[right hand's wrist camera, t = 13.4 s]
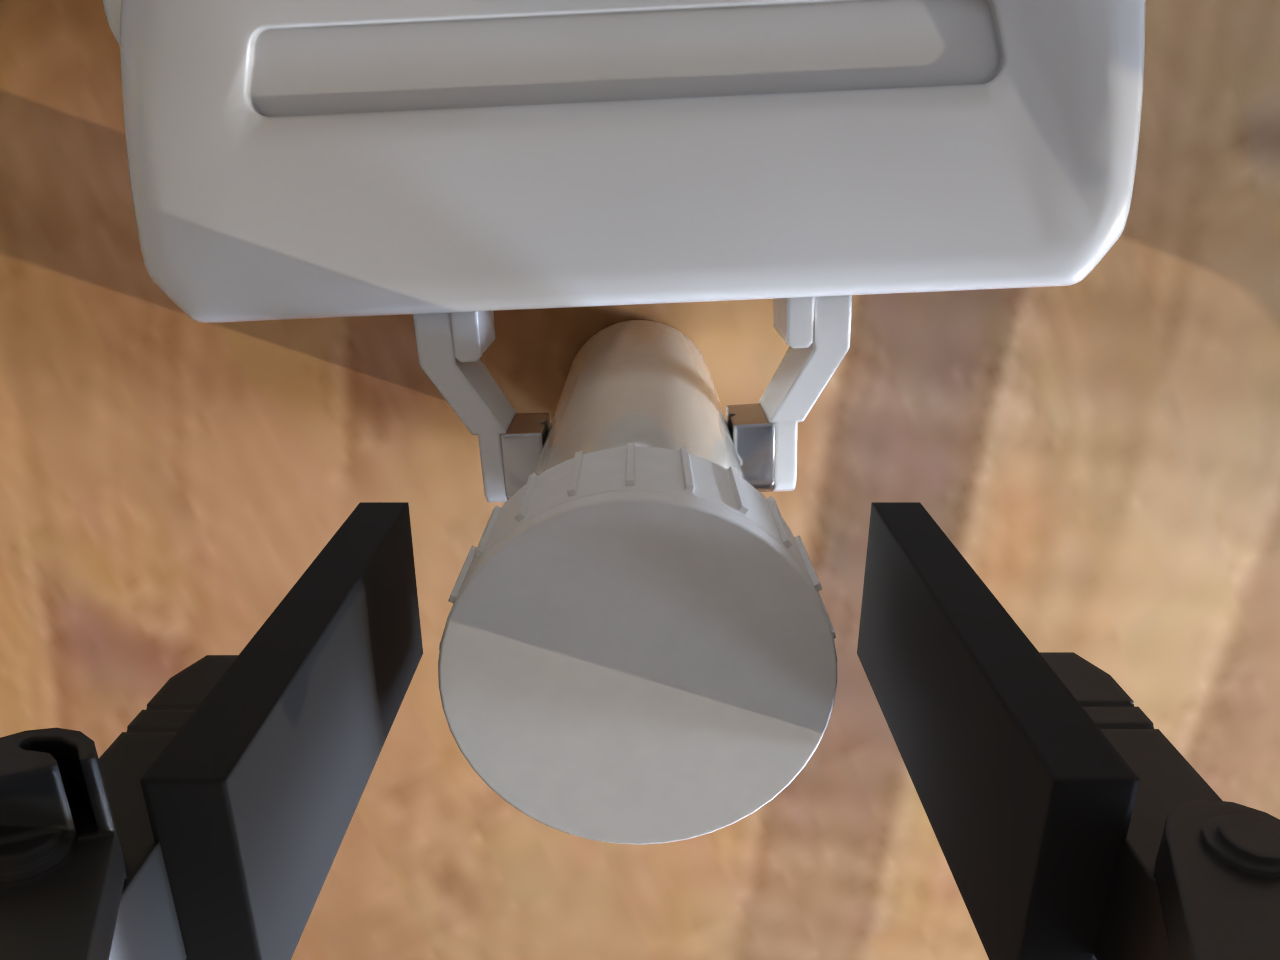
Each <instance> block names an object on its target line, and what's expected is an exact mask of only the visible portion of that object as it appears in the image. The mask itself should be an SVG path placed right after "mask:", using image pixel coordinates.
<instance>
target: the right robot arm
mask: <svg viewBox="0 0 1280 960" xmlns="http://www.w3.org/2000/svg"><path fill="white" fill-rule="evenodd" d="M422 654H423V648H422V638H421V628H420V618H419V608H418V597H417V587H416V577H415V567H414V557H413V546H412V536H411V526H410V516H409V506H408V503H359V505H358V506H357V507H356V508H355V510H354V511H353V512H352V513H351V515H350V516H349V517H348V518H347V520H346V521H345V522H344V524H343V525H342V526H341V527H340V529H339V530H338V531H337V532H336V534H335V535H334V536H333V537H332V539H331V540H330V541H329V542H328V544H327V545H326V546H325V547H324V549H323V550H322V551H321V552H320V554H319V555H318V556H317V558H316V559H315V560H314V561H313V563H312V564H311V565H310V566H309V568H308V569H307V570H306V571H305V573H304V574H303V575H302V576H301V578H300V579H299V580H298V581H297V583H296V584H295V585H294V586H293V588H292V589H291V590H290V591H289V593H288V594H287V595H286V597H285V598H284V599H283V600H282V602H281V603H280V604H279V605H278V607H277V608H276V609H275V610H274V612H273V613H272V614H271V615H270V617H269V618H268V619H267V620H266V622H265V623H264V624H263V625H262V627H261V628H260V629H259V631H258V632H257V633H256V634H255V636H254V637H253V638H252V639H251V641H250V642H249V643H248V644H247V646H246V647H245V648H244V649H243V651H242V652H241V653H240V654H239V655H207V656H205V657H204V658H202V659H200V660H199V661H197V662H196V663H194V664H192V665H191V666H189V667H188V668H186V669H184V670H183V671H181V672H180V673H178V674H176V675H175V676H173V677H172V678H170V679H169V680H168V682H167V683H166V684H165V685H164V686H163V687H162V688H161V689H160V691H159V692H158V693H157V694H156V695H155V696H154V697H153V698H152V700H151V701H150V702H149V703H148V704H147V709H146V710H142V711H141V712H140V713H139V714H138V715H137V716H136V718H135V719H134V720H133V721H132V722H131V723H130V724H129V725H128V727H127V728H128V729H127V732H122V733H121V734H120V736H119V737H118V738H117V739H116V740H115V741H114V742H113V743H112V745H111V746H110V747H109V748H108V749H107V750H106V751H105V752H104V754H103V755H102V756H101V757H100V758H99V759H98V756H97V752H96V748H95V744H94V741H93V740H91V739H90V738H88V737H87V736H86V735H84V734H83V733H82V732H80V731H74V730H68V729H61V728H49V729H39V730H29V731H23V732H20V733H16V734H13V735H9V736H5V737H2V738H0V960H291V958H292V955H293V953H294V951H295V948H296V946H297V944H298V942H299V939H300V937H301V935H302V932H303V930H304V928H305V925H306V923H307V921H308V918H309V916H310V914H311V911H312V909H313V907H314V904H315V902H316V900H317V897H318V895H319V893H320V891H321V888H322V886H323V884H324V881H325V879H326V877H327V874H328V872H329V870H330V867H331V865H332V863H333V860H334V858H335V856H336V853H337V851H338V849H339V847H340V844H341V842H342V840H343V837H344V835H345V833H346V830H347V828H348V826H349V823H350V821H351V819H352V816H353V814H354V812H355V809H356V807H357V805H358V802H359V800H360V798H361V796H362V793H363V791H364V789H365V786H366V784H367V782H368V779H369V777H370V775H371V772H372V770H373V768H374V765H375V763H376V761H377V758H378V756H379V754H380V752H381V749H382V747H383V745H384V742H385V740H386V738H387V735H388V733H389V731H390V728H391V726H392V724H393V721H394V719H395V717H396V714H397V712H398V710H399V707H400V705H401V703H402V701H403V698H404V696H405V694H406V691H407V689H408V687H409V684H410V682H411V680H412V677H413V675H414V673H415V670H416V668H417V666H418V663H419V661H420V659H421V657H422ZM857 654H858V657H859V659H860V661H861V663H862V666H863V668H864V670H865V673H866V675H867V677H868V680H869V682H870V684H871V687H872V689H873V691H874V694H875V696H876V698H877V701H878V703H879V705H880V707H881V710H882V712H883V714H884V717H885V719H886V721H887V724H888V726H889V728H890V731H891V733H892V735H893V738H894V740H895V742H896V745H897V747H898V749H899V752H900V754H901V756H902V758H903V761H904V763H905V765H906V768H907V770H908V772H909V775H910V777H911V779H912V782H913V784H914V786H915V789H916V791H917V793H918V796H919V798H920V800H921V802H922V805H923V807H924V809H925V812H926V814H927V816H928V819H929V821H930V823H931V826H932V828H933V830H934V833H935V835H936V837H937V840H938V842H939V844H940V847H941V849H942V851H943V853H944V856H945V858H946V860H947V863H948V865H949V867H950V870H951V872H952V874H953V877H954V879H955V881H956V884H957V886H958V888H959V891H960V893H961V895H962V897H963V900H964V902H965V904H966V907H967V909H968V911H969V914H970V916H971V918H972V921H973V923H974V925H975V928H976V930H977V932H978V935H979V937H980V939H981V942H982V944H983V946H984V948H985V951H986V953H987V955H988V958H989V960H1280V820H1279V819H1277V818H1275V817H1273V816H1271V815H1269V814H1267V813H1265V812H1262V811H1259V810H1256V809H1253V808H1249V807H1246V806H1243V805H1240V804H1237V803H1234V802H1225V801H1222V800H1221V799H1220V797H1219V796H1218V795H1217V794H1216V793H1215V792H1214V791H1213V790H1212V789H1211V787H1210V786H1209V785H1208V784H1207V783H1206V782H1205V781H1204V780H1203V778H1202V777H1201V776H1200V775H1199V774H1198V773H1197V772H1196V771H1195V770H1194V768H1193V767H1192V766H1191V765H1190V764H1189V763H1188V762H1187V761H1186V759H1185V758H1184V757H1183V756H1182V755H1181V754H1180V753H1179V752H1178V751H1177V749H1176V748H1175V747H1174V746H1173V745H1172V744H1171V743H1170V742H1169V740H1168V739H1167V738H1166V737H1165V736H1164V735H1163V734H1162V733H1161V732H1160V730H1159V729H1154V727H1153V723H1152V722H1151V720H1150V719H1149V718H1148V717H1147V716H1146V715H1145V714H1144V713H1143V711H1142V710H1141V709H1140V708H1139V707H1134V701H1133V700H1132V699H1131V698H1130V697H1129V696H1128V695H1127V694H1126V692H1125V691H1124V690H1123V689H1122V688H1121V687H1120V686H1119V685H1118V684H1117V682H1116V681H1115V680H1114V679H1113V678H1112V677H1111V676H1110V675H1109V674H1107V673H1106V672H1104V671H1102V670H1101V669H1099V668H1098V667H1096V666H1094V665H1093V664H1091V663H1090V662H1088V661H1086V660H1085V659H1083V658H1081V657H1080V656H1078V655H1077V654H1075V653H1039V652H1038V651H1037V649H1036V648H1035V647H1034V646H1033V644H1032V643H1031V642H1030V641H1029V639H1028V638H1027V637H1026V636H1025V634H1024V633H1023V632H1022V631H1021V629H1020V628H1019V627H1018V625H1017V624H1016V623H1015V622H1014V620H1013V619H1012V618H1011V617H1010V615H1009V614H1008V613H1007V612H1006V610H1005V609H1004V608H1003V607H1002V605H1001V604H1000V603H999V602H998V600H997V599H996V598H995V597H994V595H993V594H992V593H991V591H990V590H989V589H988V588H987V586H986V585H985V584H984V583H983V581H982V580H981V579H980V578H979V576H978V575H977V574H976V573H975V571H974V570H973V569H972V568H971V566H970V565H969V564H968V563H967V561H966V560H965V559H964V558H963V556H962V555H961V554H960V552H959V551H958V550H957V549H956V547H955V546H954V545H953V544H952V542H951V541H950V540H949V539H948V537H947V536H946V535H945V534H944V532H943V531H942V530H941V529H940V527H939V526H938V525H937V524H936V522H935V521H934V520H933V518H932V517H931V516H930V515H929V513H928V512H927V511H926V510H925V508H924V507H923V506H922V505H921V503H872V506H871V516H870V526H869V536H868V546H867V557H866V567H865V577H864V587H863V597H862V608H861V618H860V628H859V638H858V648H857Z"/></svg>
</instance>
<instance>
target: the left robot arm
mask: <svg viewBox="0 0 1280 960" xmlns="http://www.w3.org/2000/svg"><path fill="white" fill-rule="evenodd" d="M102 1H103V5H104V10H105V14H106V18H107V21H108V24H109V26H110V28H111V31H112V33H113V35H114V37H115V39H116V41H117V42H118V44H119V46H120V62H121V82H122V98H123V114H124V128H125V138H126V147H127V157H128V167H129V175H130V183H131V190H132V197H133V205H134V211H135V217H136V224H137V230H138V236H139V242H140V247H141V251H142V256H143V260H144V264H145V267H146V269H147V272H148V274H149V276H150V278H151V280H152V281H153V282H154V283H155V284H156V285H157V286H158V287H159V288H160V289H161V290H162V291H163V292H164V293H165V294H166V295H167V296H168V297H169V298H170V299H171V300H172V301H173V302H174V303H175V304H176V305H177V306H178V307H179V308H180V309H181V310H182V311H183V312H184V313H185V314H186V315H187V316H189V317H190V318H191V319H193V320H195V321H198V322H203V323H215V322H240V321H263V320H286V319H309V318H332V317H355V316H379V315H402V314H413V320H414V327H415V335H416V343H417V351H418V358H419V365H420V367H421V368H422V369H423V370H424V372H425V373H426V374H427V376H428V377H429V378H430V380H431V381H432V382H433V384H434V385H435V386H436V388H437V389H438V390H439V392H440V393H441V394H442V395H443V397H444V398H445V399H446V401H447V402H448V403H449V405H450V406H451V407H452V409H453V410H454V411H455V413H456V414H457V415H458V417H459V418H460V419H461V420H462V422H463V423H464V424H465V426H466V427H467V428H468V430H469V431H470V432H471V434H472V435H478V439H479V447H480V456H481V465H482V474H483V483H484V492H485V496H486V499H487V501H488V502H507V501H508V500H509V498H510V497H512V496H513V495H514V494H515V493H516V492H517V491H518V490H520V489H521V488H522V487H523V486H524V485H525V484H526V483H527V480H528V477H529V476H530V475H531V474H533V473H535V470H536V467H537V464H538V461H539V458H540V455H541V452H542V449H543V446H544V443H545V441H546V438H547V435H548V432H549V429H550V420H549V413H517V414H516V411H515V409H514V408H513V406H512V405H511V403H510V402H509V400H508V399H507V397H506V396H505V394H504V393H503V391H502V390H501V388H500V387H499V385H498V384H497V382H496V381H495V380H494V378H493V377H492V375H491V374H490V372H489V371H488V369H487V368H486V366H485V365H484V363H483V362H482V360H481V359H480V357H481V356H482V355H483V353H484V352H485V351H486V350H487V349H488V347H489V346H490V345H491V344H492V343H493V341H494V340H495V339H496V337H495V326H494V314H493V311H494V310H517V309H541V308H564V307H587V306H610V305H633V304H656V303H679V302H702V301H726V300H749V299H772V298H773V312H774V328H775V329H776V330H777V332H778V333H779V334H780V335H781V337H782V338H783V339H784V341H785V342H786V343H787V344H788V345H789V346H790V347H789V349H788V351H787V352H786V354H785V356H784V358H783V360H782V361H781V363H780V365H779V367H778V369H777V370H776V372H775V374H774V376H773V377H772V379H771V381H770V383H769V385H768V386H767V388H766V390H765V392H764V394H763V395H762V397H761V399H760V401H759V402H760V403H759V404H743V405H728V406H726V413H727V426H728V429H729V432H730V435H731V439H732V442H733V445H734V448H735V451H736V454H737V457H738V460H739V463H740V466H741V469H742V472H743V475H744V478H745V480H746V481H747V482H748V483H749V484H751V485H752V486H753V487H754V488H755V489H757V490H758V491H759V492H768V491H793V490H794V488H795V484H796V467H797V422H802V421H803V420H804V419H805V417H806V416H807V414H808V413H809V411H810V409H811V408H812V406H813V405H814V403H815V402H816V400H817V398H818V397H819V395H820V394H821V392H822V390H823V389H824V387H825V386H826V384H827V383H828V381H829V379H830V378H831V376H832V375H833V373H834V372H835V370H836V368H837V367H838V365H839V364H840V362H841V360H842V359H843V357H844V356H845V354H846V353H847V351H848V349H849V348H850V329H851V306H852V295H864V294H887V293H911V292H934V291H957V290H980V289H1003V288H1026V287H1048V286H1069V285H1072V284H1076V283H1078V282H1080V281H1081V280H1083V279H1084V278H1085V277H1086V276H1087V275H1088V274H1089V273H1090V272H1091V270H1092V269H1093V268H1094V267H1095V266H1096V265H1097V264H1098V263H1099V261H1100V260H1101V259H1102V258H1103V257H1104V255H1105V254H1106V253H1107V252H1108V251H1109V249H1110V248H1111V247H1112V246H1113V244H1114V243H1115V242H1116V241H1117V240H1118V238H1119V237H1120V235H1121V234H1122V232H1123V229H1124V227H1125V224H1126V221H1127V217H1128V213H1129V209H1130V204H1131V198H1132V192H1133V184H1134V177H1135V169H1136V161H1137V152H1138V142H1139V133H1140V121H1141V108H1142V95H1143V74H1144V52H1145V0H102Z"/></svg>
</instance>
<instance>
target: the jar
mask: <svg viewBox="0 0 1280 960" xmlns="http://www.w3.org/2000/svg"><path fill="white" fill-rule="evenodd" d="M631 442H634V443H635V446H638V447H658V448H665V449H670V450H676V451H680V449H681V447H683V448H687V449H688V452H689V454H692V455H695V456H698V457H701V458H705V459H707V460H709V461H711V462H714V463H716V464H718V465H720V466H722V467H725V468H727V469H729V467H730V466H732V467H734V468H735V469H736V470H737V473H738V476H739V477H741V478H743V479H744V480H745V478H744V475H743V472H742V469H741V466H740V463H739V460H738V457H737V454H736V451H735V448H734V445H733V442H732V439H731V435H730V432H729V429H728V426H727V423H726V420H725V417H724V414H723V411H722V408H721V405H720V402H719V399H718V396H717V393H716V390H715V387H714V383H713V380H712V377H711V374H710V371H709V368H708V365H707V363H706V361H705V359H704V357H703V355H702V354H701V352H700V351H699V349H698V348H697V347H696V346H695V344H694V343H693V342H692V341H691V340H690V339H689V338H687V337H686V336H685V335H684V334H682V333H681V332H679V331H678V330H676V329H674V328H672V327H670V326H668V325H665V324H662V323H659V322H655V321H649V320H629V321H624V322H619V323H616V324H614V325H611V326H608V327H606V328H605V329H603V330H601V331H599V332H598V333H596V334H595V335H593V336H592V337H591V338H590V339H589V340H588V341H587V342H586V343H585V344H584V345H583V346H582V348H581V349H580V350H579V352H578V353H577V355H576V356H575V358H574V360H573V362H572V365H571V367H570V370H569V373H568V376H567V379H566V382H565V385H564V387H563V390H562V393H561V396H560V399H559V402H558V405H557V408H556V411H555V414H554V417H553V420H552V423H551V426H550V429H549V432H548V435H547V438H546V441H545V443H544V446H543V449H542V452H541V455H540V458H539V461H538V464H537V467H536V470H535V474H536V475H537V476H538V475H540V474H541V473H543V472H544V471H546V470H548V469H550V468H552V467H554V466H556V465H558V464H560V463H562V462H564V461H566V460H569V459H572V458H574V456H575V453H576V452H579V451H582V452H583V455H584V454H587V453H590V452H595V451H600V450H605V449H610V448H620V447H627V445H628V443H631Z"/></svg>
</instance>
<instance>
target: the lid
mask: <svg viewBox="0 0 1280 960" xmlns="http://www.w3.org/2000/svg"><path fill="white" fill-rule="evenodd" d="M819 590H822V587H821V585H820V582H819V580H818V578H817V575H816V573H815V571H814V568H813V566H812V563H811V561H810V559H809V556H808V554H807V552H806V549H805V547H804V545H803V542H802V540H801V538H800V536H797V537H795V538H794V536H793V534H792V532H791V530H790V528H789V527H788V525H787V524H786V522H785V521H784V519H783V518H782V516H781V514H780V511H779V509H778V506H777V504H776V501H775V500H774V499H773V498H772V497H770V498H768V499H766V498H765V496H764V495H763V494H761V493H760V492H759V491H758V490H757V489H755V488H754V487H753V486H752V485H751V484H749V483H748V482H747V481H746V480H744V479H743V478H741V477H739V476H738V473H737V470H736V469H735V468H734V467H732V466H730V467H729V469H727V468H725V467H722V466H720V465H718V464H716V463H714V462H711V461H709V460H707V459H705V458H701V457H698V456H695V455H692V454H689V452H688V449H687V448H683V447H681V449H680V451H676V450H670V449H665V448H658V447H638V446H635V443H634V442H631V443H628V445H627V447H620V448H610V449H605V450H600V451H595V452H590V453H587V454H584V455H583V452H582V451H579V452H576V453H575V456H574V458H572V459H569V460H566V461H564V462H562V463H560V464H558V465H556V466H554V467H552V468H550V469H548V470H546V471H544V472H543V473H541V474H540V475H538V476H537V475H536V474H535V473H533V474H531V475H530V476H529V477H528V480H527V483H526V484H525V485H524V486H523V487H522V488H521V489H520V490H518V491H517V492H516V493H515V494H514V495H513V496H512V497H510V498H509V500H508V501H507V502H506V503H505V504H504V505H503V507H502V508H500V507H498V506H496V507H495V508H494V509H493V511H492V513H491V516H490V518H489V521H488V523H487V525H486V528H485V530H484V532H483V535H482V537H481V539H480V542H479V544H478V547H477V548H476V547H473V546H472V547H471V550H470V552H469V554H468V556H467V559H466V561H465V563H464V566H463V568H462V570H461V572H460V575H459V577H458V579H457V582H456V584H455V586H454V588H453V591H452V593H451V595H450V598H449V602H452V603H454V604H453V607H452V609H451V611H450V613H449V616H448V618H447V622H446V625H445V629H444V632H443V636H442V639H441V642H440V649H439V650H440V654H439V662H438V672H439V689H440V695H441V701H442V706H443V710H444V713H445V716H446V719H447V722H448V725H449V728H450V731H451V733H452V735H453V737H454V739H455V741H456V743H457V745H458V747H459V749H460V751H461V752H462V753H463V755H464V756H465V758H466V759H467V761H468V762H469V764H470V765H471V767H472V768H473V769H474V771H475V772H476V773H477V774H478V775H479V776H480V777H481V778H482V779H483V781H484V782H485V783H486V784H487V785H488V786H489V787H490V788H491V789H492V790H494V791H495V792H496V793H497V794H498V795H499V796H501V797H502V798H503V799H504V800H505V801H506V802H508V803H509V804H511V805H512V806H514V807H515V808H517V809H518V810H520V811H521V812H523V813H524V814H526V815H528V816H530V817H532V818H534V819H535V820H537V821H539V822H541V823H543V824H545V825H547V826H550V827H553V828H555V829H558V830H560V831H563V832H566V833H568V834H572V835H576V836H579V837H583V838H587V839H591V840H597V841H603V842H610V843H619V844H655V843H667V842H673V841H679V840H685V839H690V838H693V837H697V836H700V835H704V834H707V833H711V832H713V831H716V830H718V829H721V828H723V827H726V826H728V825H731V824H733V823H735V822H737V821H739V820H741V819H742V818H744V817H746V816H748V815H750V814H752V813H753V812H755V811H756V810H758V809H759V808H761V807H762V806H763V805H765V804H766V803H768V802H769V801H771V800H772V799H773V798H774V797H776V796H777V795H778V794H779V793H780V792H781V791H782V790H783V789H784V788H785V787H787V786H788V785H789V784H790V783H791V782H792V781H793V779H794V778H795V777H796V776H797V775H798V774H799V772H800V771H801V770H802V769H803V768H804V767H805V765H806V764H807V762H808V761H809V759H810V757H811V756H812V754H813V753H814V751H815V750H816V748H817V747H818V744H819V742H820V740H821V738H822V736H823V734H824V732H825V729H826V727H827V725H828V721H829V718H830V715H831V712H832V708H833V705H834V699H835V692H836V686H837V656H836V650H835V643H834V638H835V631H834V629H833V626H832V624H831V621H830V619H829V616H828V614H827V612H826V609H825V607H824V604H823V602H822V599H821V597H820V595H819V592H818V591H819Z"/></svg>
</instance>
